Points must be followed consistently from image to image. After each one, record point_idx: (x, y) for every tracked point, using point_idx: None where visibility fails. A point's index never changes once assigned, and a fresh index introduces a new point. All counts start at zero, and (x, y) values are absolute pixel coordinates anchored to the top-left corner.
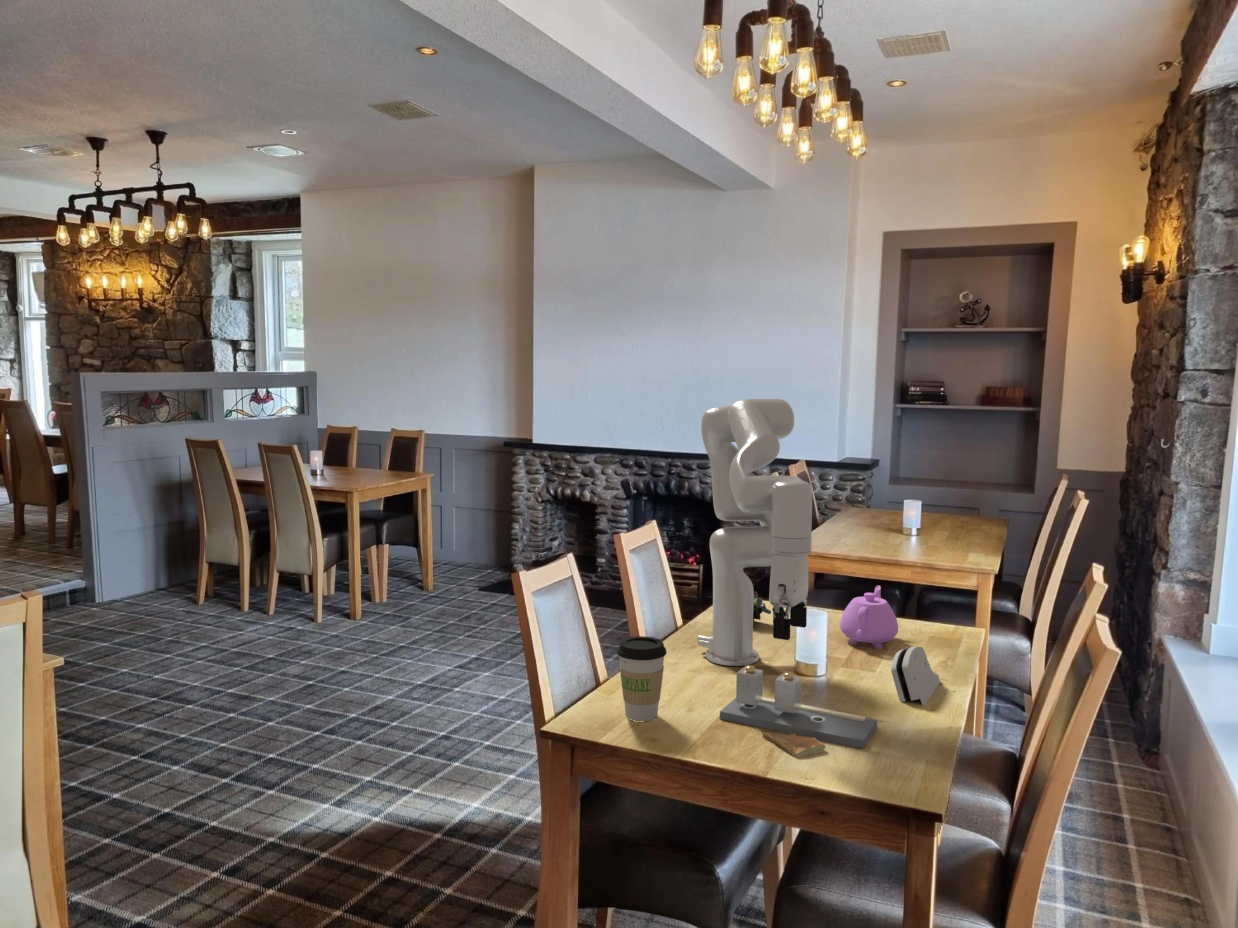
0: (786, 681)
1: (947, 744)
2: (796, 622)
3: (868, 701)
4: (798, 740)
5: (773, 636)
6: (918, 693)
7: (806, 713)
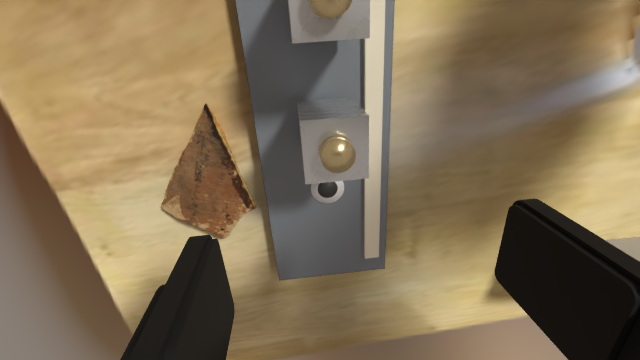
0: (306, 157)
1: (367, 341)
2: (519, 249)
3: (500, 208)
4: (208, 194)
5: (191, 239)
6: None
7: None
